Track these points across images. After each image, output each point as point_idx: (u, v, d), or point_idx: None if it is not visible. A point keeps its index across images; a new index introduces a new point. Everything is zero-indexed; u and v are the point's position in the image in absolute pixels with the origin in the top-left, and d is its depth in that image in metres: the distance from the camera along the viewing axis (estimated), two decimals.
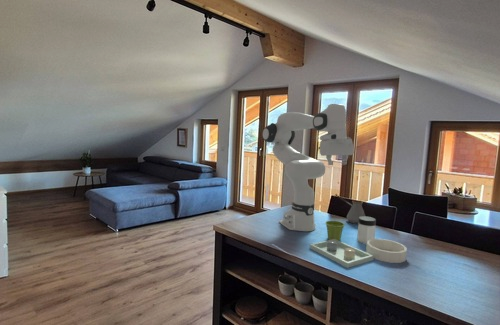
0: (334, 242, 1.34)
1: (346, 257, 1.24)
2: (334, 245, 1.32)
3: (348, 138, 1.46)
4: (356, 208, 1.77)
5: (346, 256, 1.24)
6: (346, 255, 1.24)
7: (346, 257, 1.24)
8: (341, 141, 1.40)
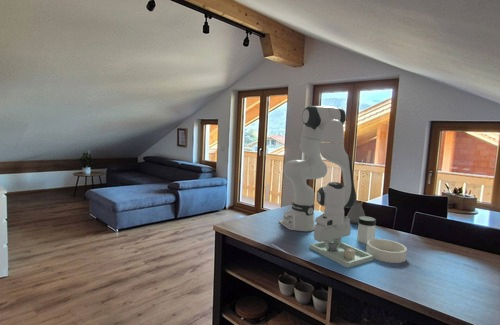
0: (334, 242, 1.34)
1: (346, 257, 1.24)
2: (334, 245, 1.32)
3: (345, 218, 1.36)
4: (356, 208, 1.77)
5: (346, 256, 1.24)
6: (346, 255, 1.24)
7: (346, 257, 1.24)
8: (337, 225, 1.30)
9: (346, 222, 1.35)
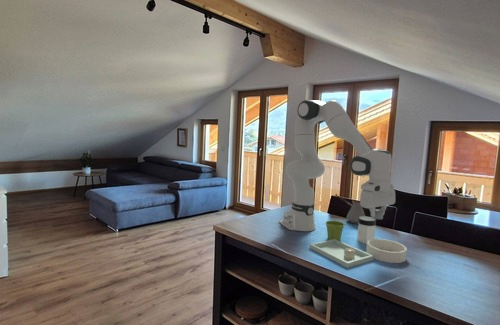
0: (380, 210, 1.31)
1: (346, 257, 1.24)
2: (380, 212, 1.29)
3: (390, 186, 1.34)
4: (356, 208, 1.77)
5: (346, 256, 1.24)
6: (346, 255, 1.24)
7: (346, 257, 1.24)
8: (384, 192, 1.27)
9: (391, 190, 1.32)
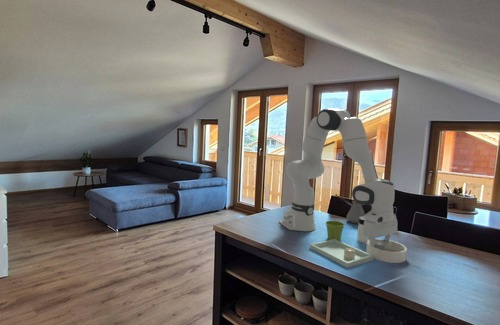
0: (382, 244, 1.33)
1: (346, 257, 1.24)
2: (382, 247, 1.31)
3: (392, 215, 1.35)
4: (356, 208, 1.77)
5: (346, 256, 1.24)
6: (346, 255, 1.24)
7: (346, 257, 1.24)
8: (387, 222, 1.29)
9: (394, 219, 1.34)
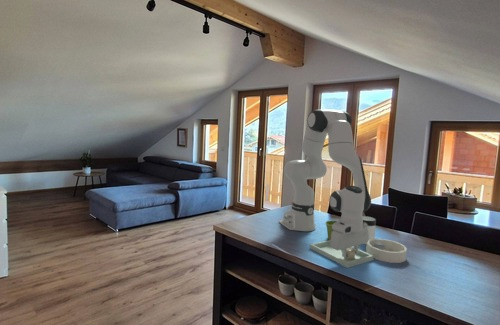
0: (382, 244, 1.33)
1: (346, 257, 1.24)
2: (382, 247, 1.31)
3: (363, 224, 1.28)
4: None
5: None
6: None
7: (346, 257, 1.24)
8: (356, 232, 1.22)
9: (364, 228, 1.26)
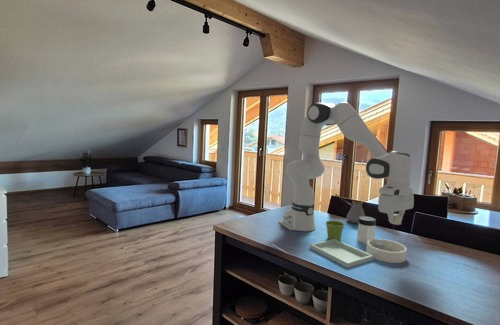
0: (382, 244, 1.33)
1: (393, 222, 1.25)
2: (382, 247, 1.31)
3: None
4: (356, 208, 1.77)
5: None
6: None
7: None
8: (403, 196, 1.22)
9: (410, 194, 1.27)
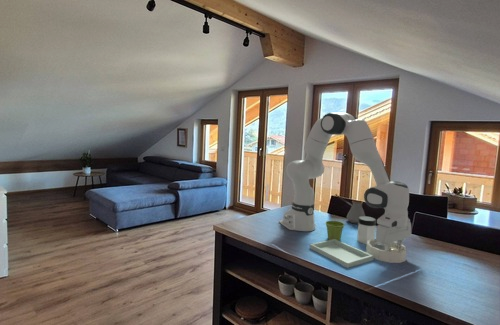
0: (382, 244, 1.33)
1: None
2: (382, 247, 1.31)
3: (406, 219, 1.30)
4: (356, 208, 1.77)
5: None
6: None
7: None
8: (401, 227, 1.23)
9: (407, 223, 1.28)
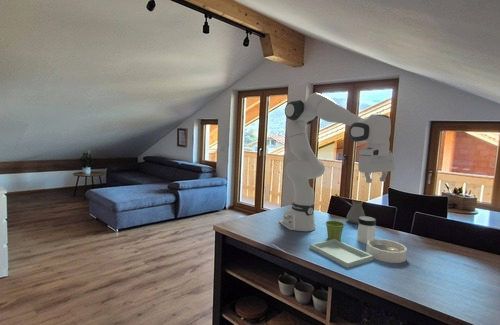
0: (382, 244, 1.33)
1: None
2: (382, 247, 1.31)
3: (389, 152, 1.32)
4: (356, 208, 1.77)
5: None
6: None
7: None
8: (383, 157, 1.25)
9: (390, 156, 1.30)
